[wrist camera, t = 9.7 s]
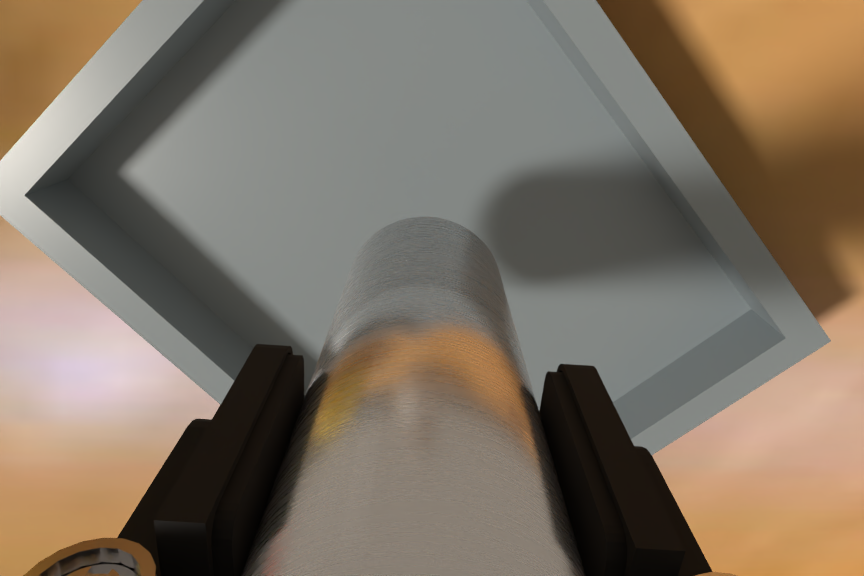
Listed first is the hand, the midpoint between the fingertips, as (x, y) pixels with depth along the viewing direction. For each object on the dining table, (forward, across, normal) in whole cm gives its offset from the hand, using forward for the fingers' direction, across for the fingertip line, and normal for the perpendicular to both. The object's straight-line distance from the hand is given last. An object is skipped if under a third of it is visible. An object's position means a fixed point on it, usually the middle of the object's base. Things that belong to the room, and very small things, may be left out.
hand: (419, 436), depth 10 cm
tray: (+11, 0, 0) cm, 11 cm away
